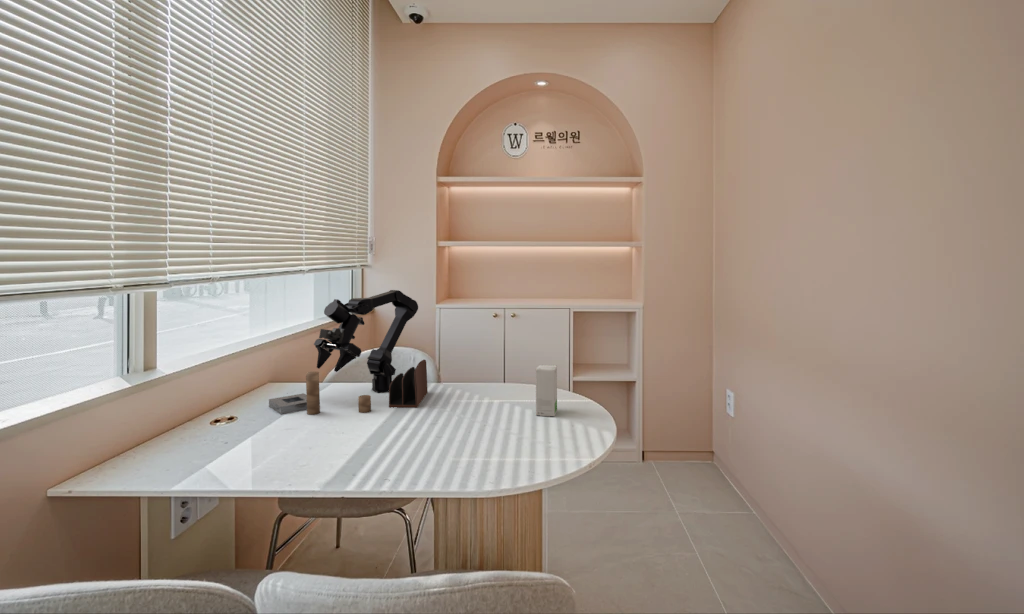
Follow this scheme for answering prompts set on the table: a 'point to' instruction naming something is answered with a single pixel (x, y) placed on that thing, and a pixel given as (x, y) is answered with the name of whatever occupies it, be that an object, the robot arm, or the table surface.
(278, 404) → the hole collar
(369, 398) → the stub pin
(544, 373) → the skincare box
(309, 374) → the tall pin
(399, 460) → the table surface
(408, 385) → the letter holder
